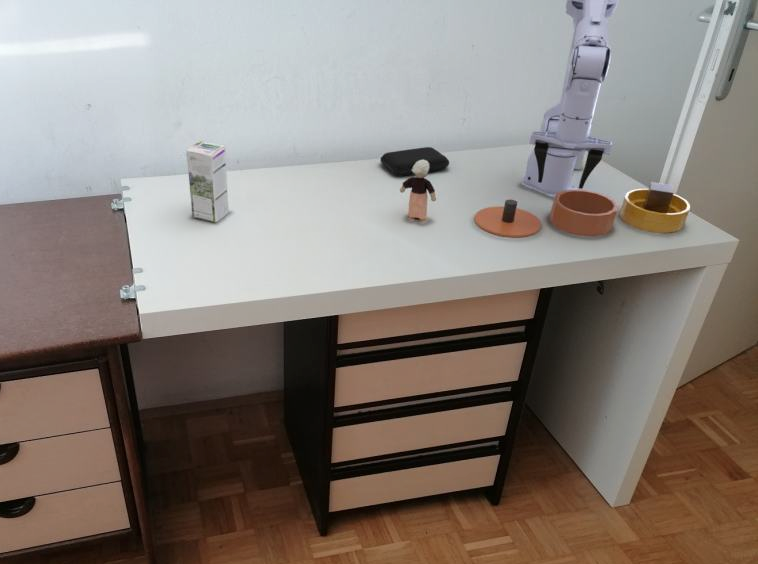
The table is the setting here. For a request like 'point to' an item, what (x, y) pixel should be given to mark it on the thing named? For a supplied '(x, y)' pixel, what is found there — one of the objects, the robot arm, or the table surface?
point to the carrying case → (413, 160)
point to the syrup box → (208, 181)
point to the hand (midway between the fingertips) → (560, 183)
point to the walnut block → (658, 197)
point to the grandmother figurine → (419, 191)
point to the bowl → (653, 213)
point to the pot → (583, 223)
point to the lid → (507, 220)
